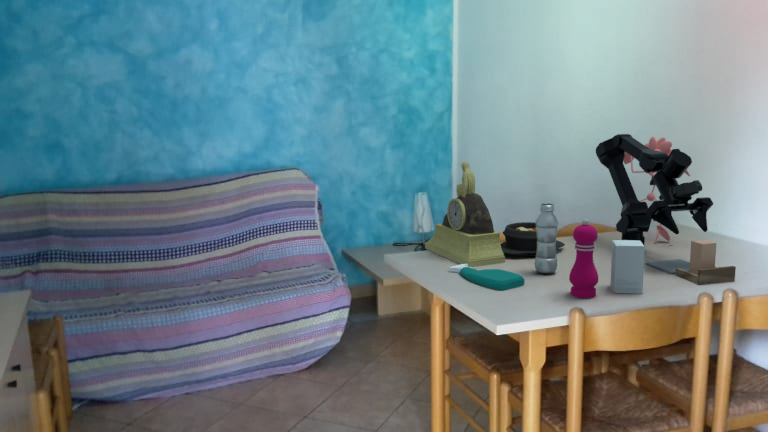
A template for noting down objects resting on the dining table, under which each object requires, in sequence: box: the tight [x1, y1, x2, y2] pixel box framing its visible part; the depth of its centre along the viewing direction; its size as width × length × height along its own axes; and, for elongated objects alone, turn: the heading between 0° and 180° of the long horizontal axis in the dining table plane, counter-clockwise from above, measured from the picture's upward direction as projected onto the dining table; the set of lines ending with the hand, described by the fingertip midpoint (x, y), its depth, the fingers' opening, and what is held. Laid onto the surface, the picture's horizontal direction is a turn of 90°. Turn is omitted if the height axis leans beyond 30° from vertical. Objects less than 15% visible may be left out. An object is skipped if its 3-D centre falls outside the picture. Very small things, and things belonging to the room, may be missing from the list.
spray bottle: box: [448, 264, 525, 291], centre depth 198 cm, size 3×11×25 cm
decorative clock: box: [424, 161, 506, 268], centre depth 222 cm, size 28×13×30 cm, turn 24°
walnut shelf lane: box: [675, 265, 737, 286], centre depth 193 cm, size 10×11×4 cm
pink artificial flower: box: [623, 136, 691, 247], centre depth 239 cm, size 15×26×35 cm, turn 36°
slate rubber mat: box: [644, 258, 690, 275], centre depth 205 cm, size 12×12×1 cm
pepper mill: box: [568, 218, 599, 299], centre depth 179 cm, size 7×7×20 cm
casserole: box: [500, 221, 566, 257], centre depth 227 cm, size 25×19×8 cm
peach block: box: [689, 239, 717, 275], centre depth 194 cm, size 4×4×10 cm
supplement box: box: [610, 239, 646, 295], centre depth 184 cm, size 7×7×13 cm
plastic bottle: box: [533, 202, 559, 274], centre depth 201 cm, size 6×7×20 cm
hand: (692, 232), depth 198 cm, fingers open, 9 cm apart
